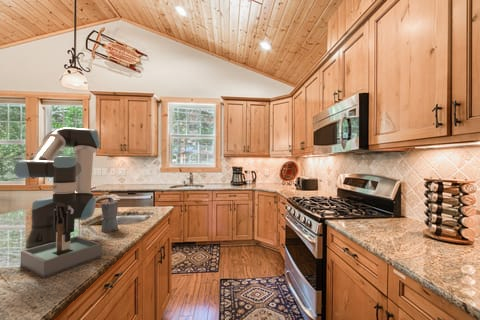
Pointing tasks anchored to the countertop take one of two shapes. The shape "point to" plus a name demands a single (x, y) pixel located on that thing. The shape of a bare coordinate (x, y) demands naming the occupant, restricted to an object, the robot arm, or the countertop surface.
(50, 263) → the bore box
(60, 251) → the walnut peg
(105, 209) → the moka pot
